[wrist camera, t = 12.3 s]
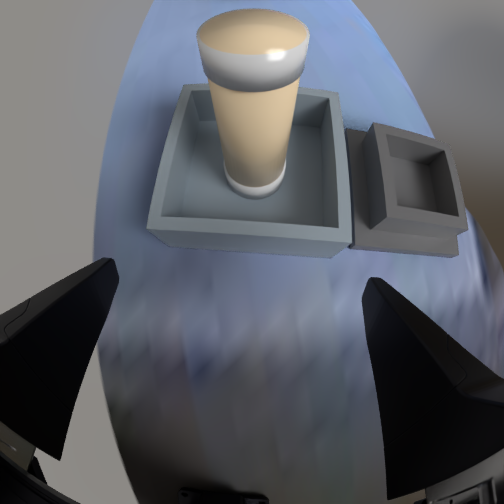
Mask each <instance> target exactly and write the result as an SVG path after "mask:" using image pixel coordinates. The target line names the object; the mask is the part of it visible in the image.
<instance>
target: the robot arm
mask: <svg viewBox="0 0 504 504" xmlns="http://www.w3.org/2000/svg"><path fill="white" fill-rule="evenodd" d="M118 283H119V275H118V272H117V268H116V264H115V261H114V259H112V258H105V257H104V258H101V259H99V260H97V261H95V262H94V263H92V264H90V265H88V266H86V267H84V268H82V269H80V270H78V271H77V272H75V273H73V274H71V275H69V276H67V277H66V278H64V279H62V280H60V281H58V282H57V283H55V284H53V285H51V286H50V287H48V288H46V289H44V290H42V291H41V292H39V293H37V294H36V295H34V296H32V297H31V298H29V299H27V300H25V301H24V302H22V303H20V304H19V305H17V306H15V307H14V308H12V309H10V310H8V311H6V312H5V313H3V314H1V315H0V504H80V503H78V502H76V501H74V500H72V499H70V498H68V497H67V496H65V495H63V494H61V493H60V492H58V491H56V490H55V489H53V488H51V487H50V486H48V485H47V482H46V480H45V477H44V475H43V472H42V470H41V468H40V465H39V462H38V460H37V458H36V457H35V456H34V453H35V450H36V447H37V448H38V449H40V450H42V451H43V452H45V453H46V454H48V455H50V456H52V457H53V458H55V459H57V460H59V461H60V459H61V456H62V452H63V447H64V443H65V439H66V435H67V431H68V427H69V423H70V419H71V416H72V412H73V409H74V406H75V402H76V399H77V396H78V393H79V389H80V386H81V384H82V381H83V378H84V375H85V372H86V369H87V366H88V364H89V361H90V358H91V356H92V353H93V350H94V348H95V345H96V343H97V340H98V338H99V335H100V333H101V330H102V328H103V326H104V323H105V321H106V318H107V316H108V313H109V310H110V307H111V304H112V301H113V298H114V295H115V292H116V289H117V286H118ZM362 307H363V315H364V323H365V333H366V340H367V345H368V350H369V354H370V359H371V364H372V369H373V375H374V380H375V386H376V392H377V398H378V404H379V411H380V418H381V426H382V434H383V443H384V455H385V467H386V484H387V500H391V499H395V498H398V497H402V496H405V495H408V494H411V493H414V492H417V491H420V490H422V489H425V493H426V498H424V499H422V500H419V501H416V502H414V504H504V379H503V378H501V377H499V376H498V375H497V374H495V373H494V372H493V371H492V370H490V369H489V368H488V367H487V366H486V365H484V364H483V363H482V362H481V361H479V360H478V359H477V358H476V357H474V356H473V355H472V354H471V353H470V352H468V351H467V350H466V349H465V348H463V347H462V346H461V345H460V344H459V343H458V342H457V341H455V340H454V339H453V338H452V337H451V336H450V335H449V334H447V333H446V332H445V331H444V330H443V329H442V328H441V327H440V326H438V325H437V324H436V323H435V322H434V321H433V320H431V319H430V318H429V317H428V316H427V315H426V314H424V313H423V312H422V311H421V310H420V309H419V308H417V307H416V306H415V305H414V304H412V303H411V302H410V301H409V300H408V299H406V298H405V297H404V296H403V295H402V294H400V293H399V292H398V291H397V290H395V289H394V288H393V287H392V286H390V285H389V284H388V283H387V282H385V281H384V280H383V279H381V278H377V277H371V278H369V279H368V281H367V284H366V287H365V290H364V292H363V295H362ZM183 492H185V493H187V494H185V493H183ZM178 500H179V504H269V499H268V498H267V497H264V496H247V495H234V494H224V493H216V492H209V491H202V490H196V489H191V488H185V487H183V488H180V490H179V492H178ZM261 501H263V502H262V503H261Z"/></svg>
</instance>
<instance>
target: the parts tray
mask: <svg viewBox="0 0 504 504" xmlns="http://www.w3.org/2000/svg"><path fill="white" fill-rule="evenodd" d="M146 229H147V230H148V231H149V232H151V233H152V234H153V235H155V236H156V237H157V238H158V239H160V240H161V241H162V242H164V243H165V244H166V245H167V246H169V247H179V248H193V249H207V250H221V251H235V252H249V253H264V254H278V255H292V256H306V257H320V258H332V257H334V256H335V255H336V254H338V253H339V252H340V251H342V250H343V249H344V248H346V247H347V246H348V245H350V244H351V243H352V224H351V201H350V186H349V173H348V162H347V152H346V143H345V135H344V127H343V120H342V113H341V106H340V100H339V94H338V93H337V92H332V91H325V90H319V89H311V88H303V87H298V91H297V97H296V103H295V108H294V114H293V120H292V126H291V131H290V137H289V142H288V148H287V153H286V168H285V173H284V178H283V182H282V184H281V186H280V188H279V189H278V190H277V191H276V192H275V193H274V194H273V195H271V196H269V197H267V198H264V199H259V200H251V199H246V198H243V197H241V196H239V195H237V194H236V193H234V192H233V191H232V189H231V188H230V187H229V185H228V183H227V179H226V175H225V170H224V157H223V152H222V147H221V142H220V137H219V132H218V127H217V122H216V118H215V113H214V108H213V102H212V97H211V92H210V87H209V84H188V85H183V88H182V91H181V93H180V96H179V99H178V102H177V106H176V109H175V112H174V115H173V118H172V122H171V125H170V128H169V132H168V135H167V139H166V142H165V146H164V150H163V153H162V157H161V161H160V165H159V169H158V174H157V178H156V182H155V187H154V191H153V196H152V201H151V206H150V211H149V216H148V221H147V227H146Z"/></svg>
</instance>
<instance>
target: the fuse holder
mask: <svg viewBox="0 0 504 504" xmlns="http://www.w3.org/2000/svg"><path fill="white" fill-rule="evenodd" d="M344 135H345V143H346V152H347V162H348V173H349V186H350V201H351V224H352V243H351V244H350V249H356V250H369V251H381V252H393V253H404V254H416V255H427V256H438V257H449V258H452V257H455V256H458V255H459V251H458V241H457V235H459V234H461V233H463V232H465V231H467V230H468V224H467V217H466V211H465V206H464V201H463V195H462V190H461V186H460V181H459V177H458V173H457V169H456V166H455V162H454V158H453V155H452V151H451V148H450V145H449V144H448V143H445V142H441V141H439V140H436V139H433V138H430V137H427V136H423V135H420V134H417V133H413V132H410V131H406V130H402V129H399V128H395V127H391V126H387V125H383V124H378V123H374V122H373V123H372V125H371V127H370V129H369V130H368V132H363V131H358V130H352V129H346V130H345V133H344Z"/></svg>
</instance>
